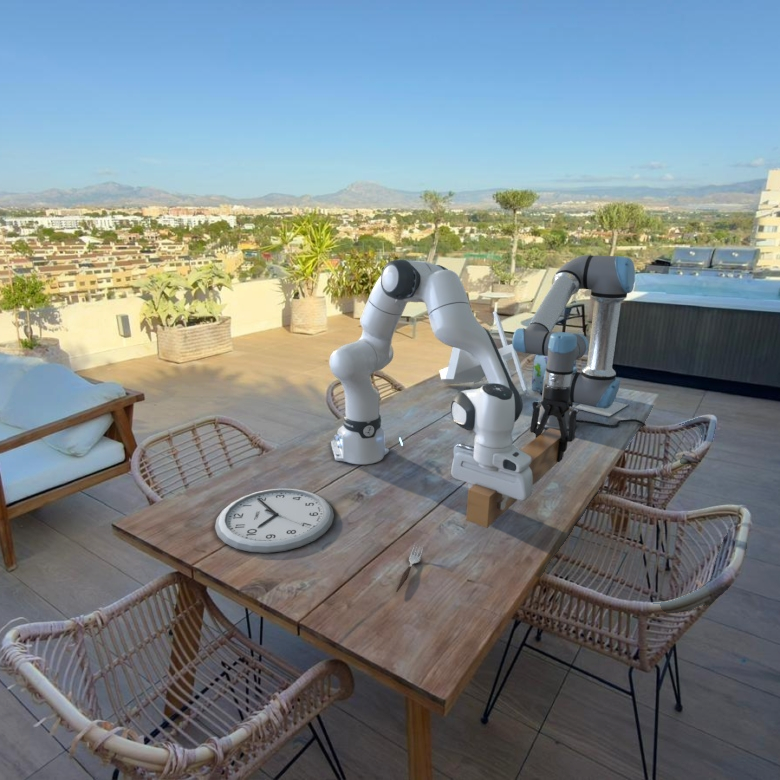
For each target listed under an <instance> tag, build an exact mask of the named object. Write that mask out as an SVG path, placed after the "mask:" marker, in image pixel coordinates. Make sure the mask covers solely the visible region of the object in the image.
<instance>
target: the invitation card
mask: <svg viewBox="0 0 780 780" xmlns="http://www.w3.org/2000/svg"><path fill="white" fill-rule="evenodd" d="M628 406H629V404H627V403H623V402H618V401H614V402H613V404H612V405H611V406H610V407H609V408H606V409H605V408H596V407H593V406H588V405H583V404H578V405H575V406H574V407H573V408H574V409H579V411H580V410H581V411H584V412H587V413H593V414H596V415H600V416H604V417H608V418H609V417H611V416H613V415H614V414H616V413H617V412H619V411H621V410H623V409H624V408H626V407H628Z"/></svg>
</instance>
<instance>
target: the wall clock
mask: <svg viewBox="0 0 780 780" xmlns="http://www.w3.org/2000/svg"><path fill="white" fill-rule="evenodd" d="M334 518H335V514H334V509H333V507H332V506H331V504H330V503H329V502H328V501H327V499H325V498H323V497H321V496H320V495H318V494H316V493H313V492H311V491H307V490H304V489H296V488H270V489H265V490H260V491H256V492H252V493H250V494H246V495H244V496H242V497H240V498H238V499H236V500H234V501H232V502H231V503H229V504H228V505H227V506H226V507H224V508H223V509H222V510H221V511H220V513H219V515H218V516H217V518H216V520H215V525H214V529H215V532H216V535H217V538H218V539H220V540H221V541H222V542H223V543H224V544H226V545H228V546H230V547H232V548H234V549H236V550H240V551H245V552H248V553H249V552H250V553H261V554H262V553H265V554H270V553H277V552H287V551H290V550H293V549H298V548H301V547H304V546H306V545H308V544H311V543H312V542H314V541H316V540H317V539H319V538H321V537H322V536H323V535H325V534H326V532H327V531H328V530H329V529H330V528H331V526H332V525H333V522H334Z"/></svg>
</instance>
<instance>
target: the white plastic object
mask: <svg viewBox="0 0 780 780" xmlns="http://www.w3.org/2000/svg"><path fill="white" fill-rule="evenodd" d="M492 315H493V319H494V321H495V324H496V325H495V326H496V328H497V332H498V335H499V338H500V342H501V345H502V347H500V348H497V349H498V351H499V353H500V356H501V358H502V360H503V363H504V365H505V367H506V369H507V372H508V374H509V376H510V378H511V381H512V382H513V383H514V381H513V378H512V375H511V371H510V369H509V365H508V361H510V360H513V363H514V366H515V369H516V372H517V376H518V380H519V382H520V385H521V389H522V391H523V393H524V395H525V396H526V397H528V396H531V395H530V390H529V388H528V387H529V386H528V384H527V381H526V378H525V375H524V371H523V369H522V368H523V367H522V366H521V362H520V359H519V355H518V351H515V350H514V348H513V345H512V343H511V344H508V341H507V337H506V334H505V331H504V328H503V325H502V321H501V318H500V315H499V314H498V312H497V311H496V310H495V311H492ZM438 372H439V376H440V381H442V383H443V384H444V385H445V386H449V385H458V384H467V383H468V384H469V383H473V384H477V383H480V382H482V381H484V378H486V376H485V373H484V371H483V369H482V366H481V364H480V362H479V360H478V359H477V358H476V357H475V356H474V355H472V354H471V353H469V352H467V351H464V350H462V349H459V348H455V347H452V349H451V353H450V357H449V362H448V366H446V367H444V368H442V369H440V370H439V371H438Z"/></svg>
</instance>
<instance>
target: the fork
mask: <svg viewBox="0 0 780 780" xmlns="http://www.w3.org/2000/svg"><path fill="white" fill-rule="evenodd" d="M415 546H416V548H415ZM418 546H419V548H418ZM421 546H422V548H421ZM424 547H425V546H424V545H421V544H420V545H419V544H417V545H416V543H414V544H413V547H412V549H411V553H410V555H409V556H408V557H409V558H408V561H409V563H410V564H409V565H408V566H407V568H406V569H405V570H404V572H403V573H402V576H401V578H400V581H399V583H398V585H397V588H396V591H395V592H396V593H398V592H399V590H400V589H401V587H402V586H403V585H404V583H405V582H406V581H407V579H408V577H409V574H410V571H411V568H412V566H413V565H415V564H418V563H419V562H421V559H422V555H423V551H424ZM414 550H415V551H414ZM417 550H418V551H417ZM420 551H421V552H420Z"/></svg>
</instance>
